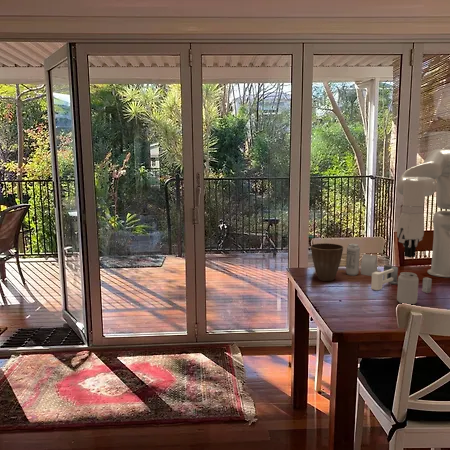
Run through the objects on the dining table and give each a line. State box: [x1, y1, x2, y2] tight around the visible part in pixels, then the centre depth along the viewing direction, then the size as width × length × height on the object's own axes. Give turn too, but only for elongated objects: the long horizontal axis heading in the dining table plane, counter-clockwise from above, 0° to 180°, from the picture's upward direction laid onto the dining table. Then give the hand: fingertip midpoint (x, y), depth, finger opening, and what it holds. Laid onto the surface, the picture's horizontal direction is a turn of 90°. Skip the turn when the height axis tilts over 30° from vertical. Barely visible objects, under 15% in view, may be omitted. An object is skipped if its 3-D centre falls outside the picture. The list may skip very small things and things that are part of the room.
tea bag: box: [360, 253, 378, 277], centre depth 212 cm, size 4×7×10 cm, turn 50°
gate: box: [370, 266, 399, 291], centre depth 193 cm, size 3×18×7 cm, turn 130°
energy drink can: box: [345, 243, 361, 276], centre depth 212 cm, size 6×6×15 cm
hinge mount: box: [383, 264, 398, 286], centre depth 199 cm, size 4×7×8 cm, turn 25°
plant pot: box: [310, 242, 344, 282], centre depth 204 cm, size 15×15×16 cm
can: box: [396, 271, 419, 306], centre depth 171 cm, size 8×8×12 cm
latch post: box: [421, 276, 433, 294], centre depth 185 cm, size 2×2×6 cm
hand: (409, 256), depth 169 cm, fingers closed
